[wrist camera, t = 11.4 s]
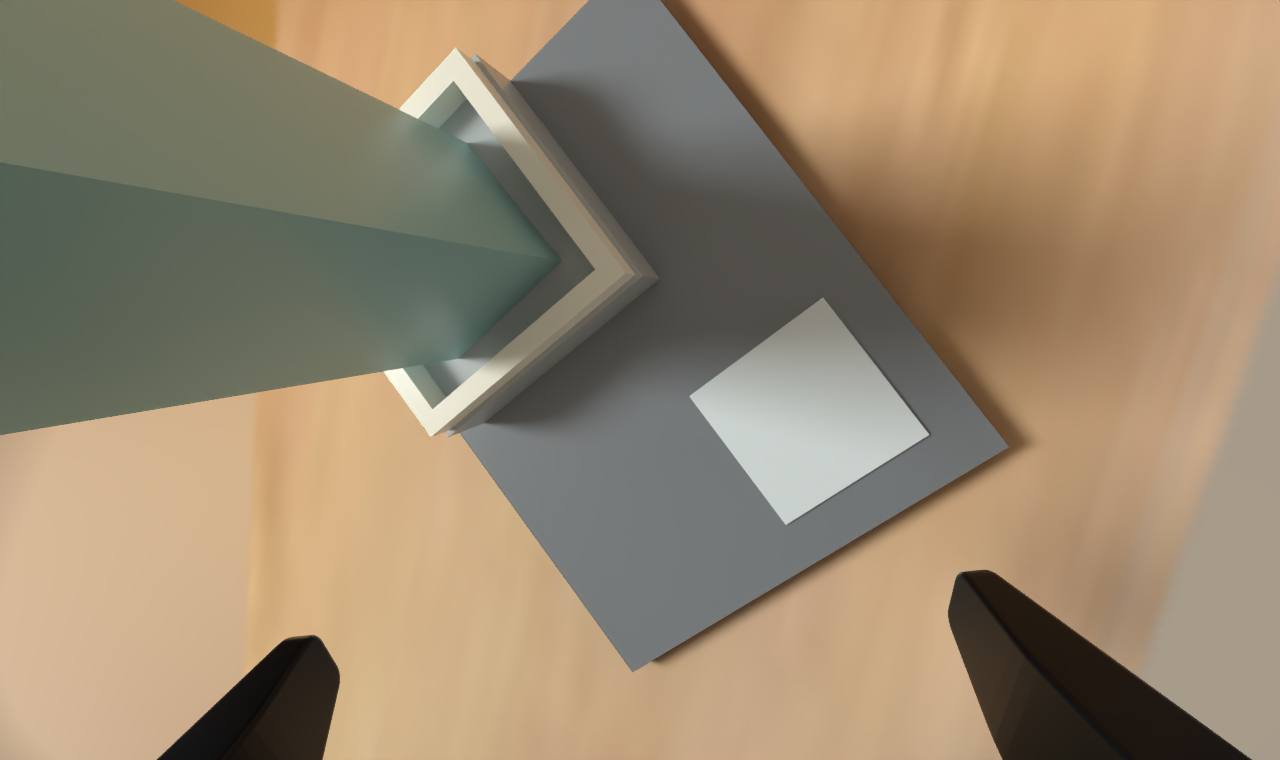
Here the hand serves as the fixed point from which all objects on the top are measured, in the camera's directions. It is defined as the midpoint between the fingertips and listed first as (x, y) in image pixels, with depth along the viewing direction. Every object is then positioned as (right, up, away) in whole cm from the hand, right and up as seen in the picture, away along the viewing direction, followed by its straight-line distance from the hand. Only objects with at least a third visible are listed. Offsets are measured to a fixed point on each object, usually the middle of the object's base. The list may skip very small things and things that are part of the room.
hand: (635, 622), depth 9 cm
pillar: (-5, +7, +9) cm, 13 cm away
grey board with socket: (0, +5, +12) cm, 13 cm away
